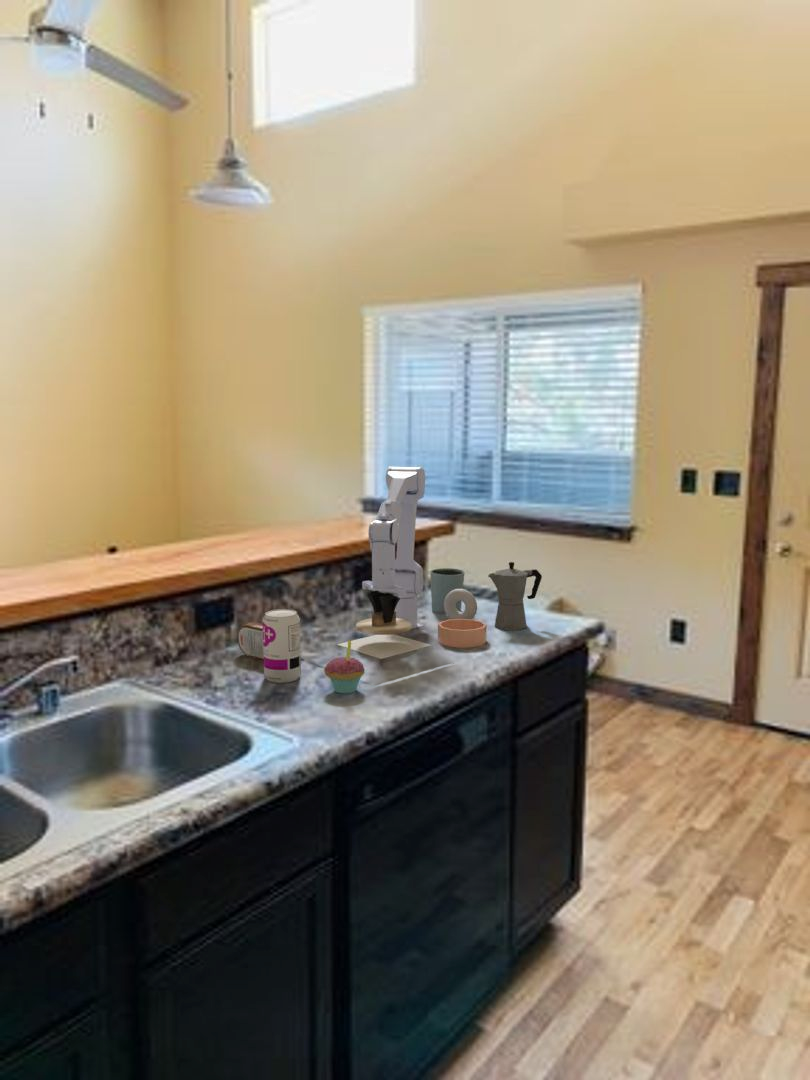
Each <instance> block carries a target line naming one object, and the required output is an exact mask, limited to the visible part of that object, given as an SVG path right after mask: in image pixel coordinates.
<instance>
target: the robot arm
mask: <svg viewBox="0 0 810 1080" xmlns="http://www.w3.org/2000/svg"><path fill="white" fill-rule="evenodd" d="M385 485H386V487H387V489H388V495H387V497H386V498H387V499H386V500H384V501H383V502H381V504H380V507H379V510H378V512H377V514H376V518H375V520H373V521H372V522H370V523H369V526H368V541H369V549H370V551H371V576H372V577H371V580H363V581H362V582H361V587H362V590H369V591H370V592H368V593H367V594H366V596H367V599H368V600H369V602H370V604H371V606H372V609H373V613H378V612H382V611H383V619H384V623H389V622H392V619H393V615H394V611H396V618H400V619H404V620H407V621H410V622H411V623H412V628H411V630H412V629H416V628H419V627H420V628H421V627H424V626H425V625H424V624H421V623H419V622H418V596H419V595H421V594H422V592H423V589H424V569H423V567H422V566H421V565H420V564H419V563H418V562H417V561H416V560H414V557H415V540H416V539H415V537H416V525H417V524H416V523H417V521H416V520H417V509H418V508H417V507H418V502H419V501H420V500H421V499H423V498H424V497H425V491H426V489H425V488H426V473H425V469H424V468H423V467H422V466H419V467H418V466H408V467H407V466H392V465H391V466H388V468H387V470H386V473H385ZM396 543H397V545H396Z"/></svg>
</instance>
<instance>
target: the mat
mask: <svg viewBox="0 0 810 1080" xmlns="http://www.w3.org/2000/svg"><path fill="white" fill-rule="evenodd" d="M337 646H340V647H343V648H346V649H348V641H346V642H342V643H337ZM427 647H432V644H429V643H425V642H423V641H419V640H414V639H412V638H407V637H405V636H401V635H399V634H390V635H376V634H373V635H370V636H366V637H361V638H357V639H354V640H351V651H356V652H358V653H361V654H365V655H367V656H371V657H374V658H377V659H380V660H382V659H385V658H387V659H388V658H390V657H394V656H397V655H400V654H406V653H408V652H412V651H416V650H420V649H425V648H427Z"/></svg>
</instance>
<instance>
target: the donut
mask: <svg viewBox="0 0 810 1080" xmlns="http://www.w3.org/2000/svg"><path fill="white" fill-rule="evenodd" d="M459 600H460V601H461V602H462V603H463V604H464V606H465V607H464V610H463V611H460V612H459V611H458V610H457V608H456V602H457V601H459ZM477 603H478V602H477V599H476V597H475V596H474V594H472V592H470V591H469V590H467V589H465V588H463V589H454V590H452V591H451V592H449V593H448V594H447V596H446V598H445V601H444V610H445V612H446V614H445V615H446V617H448V620H450V619H473V620H474V619H475V617H476V615H477V614H478V613H477V611H478V604H477Z"/></svg>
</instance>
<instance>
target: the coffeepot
mask: <svg viewBox="0 0 810 1080" xmlns="http://www.w3.org/2000/svg"><path fill="white" fill-rule="evenodd" d="M508 566H509V568H506V569H500V570H496V571H495V572H492V573H489V574H488V575H487V576H488V578H490V579H491V581H492V582H493V584H494V586H495V588H496V592H497V597H498V603H497V610H496V616H495V623H494V628H496V627H497V628H496V629H500V630H503V631H520V630H524V629H527V620H526V619H527V618H526V611H525V605H524V604H525V603H524V597H525V592H526V585H527V579H528V578H532V577H535V578H534V582H533V586H532V589H531V594H530V595H527V599H528V600H533V599H535V598H536V596H537V592H538V590H539V588H540V583H541V581H542V577H543V575H542V574H541V572H540V571H539V570H537V569H525V570H520V569H517V568H514V566H515V562H513V561H510V562H508Z"/></svg>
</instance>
